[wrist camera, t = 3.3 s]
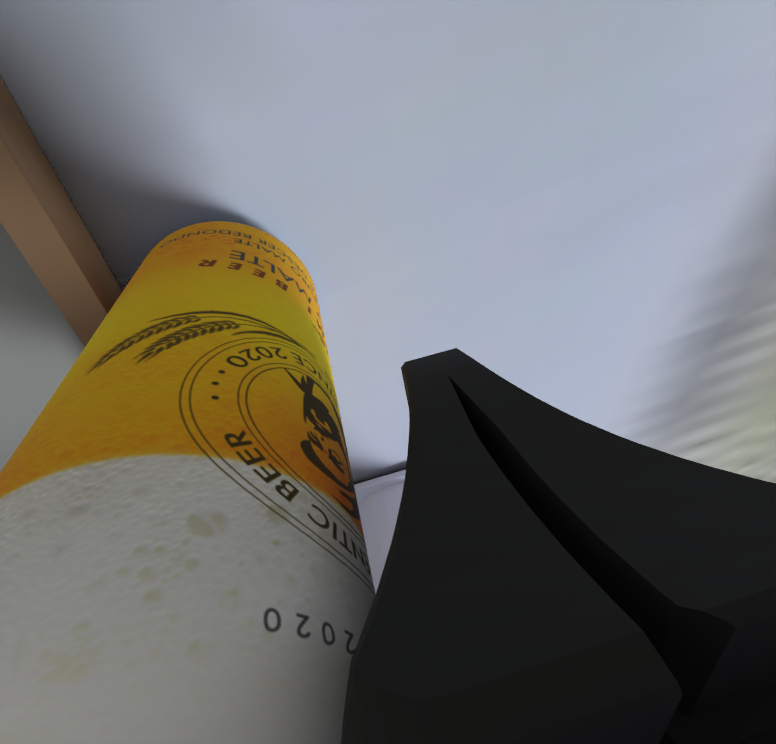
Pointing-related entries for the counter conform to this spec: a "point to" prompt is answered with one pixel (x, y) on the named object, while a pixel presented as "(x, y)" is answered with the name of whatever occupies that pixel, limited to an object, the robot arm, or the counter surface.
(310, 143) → the counter surface
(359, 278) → the counter surface
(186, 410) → the beer can
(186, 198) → the counter surface
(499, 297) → the counter surface
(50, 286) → the bar
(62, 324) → the mat
